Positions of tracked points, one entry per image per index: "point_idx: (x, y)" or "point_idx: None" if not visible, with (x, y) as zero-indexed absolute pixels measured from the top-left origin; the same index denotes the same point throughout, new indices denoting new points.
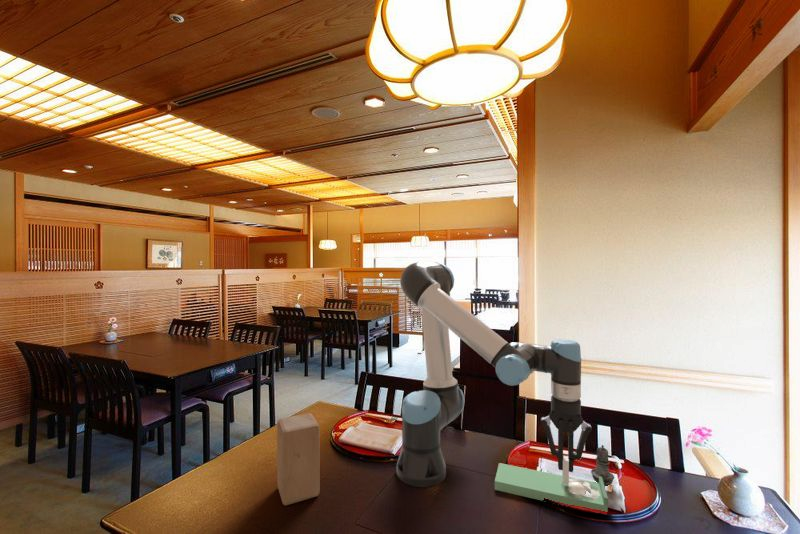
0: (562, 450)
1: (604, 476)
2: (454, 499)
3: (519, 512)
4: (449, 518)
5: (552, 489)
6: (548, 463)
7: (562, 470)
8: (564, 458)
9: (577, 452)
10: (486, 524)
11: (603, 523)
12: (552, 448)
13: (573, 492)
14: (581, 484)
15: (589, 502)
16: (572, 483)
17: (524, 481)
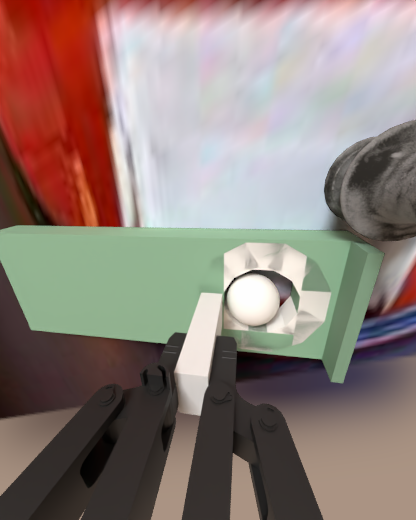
0: (156, 481)
1: (402, 228)
2: (8, 360)
3: (123, 367)
4: (32, 398)
5: (175, 327)
6: (148, 68)
7: (194, 316)
8: (186, 398)
9: (259, 510)
10: (85, 401)
11: (300, 362)
12: (93, 472)
13: (237, 325)
14: (268, 309)
15: (279, 353)
16: (236, 309)
17: (95, 312)
